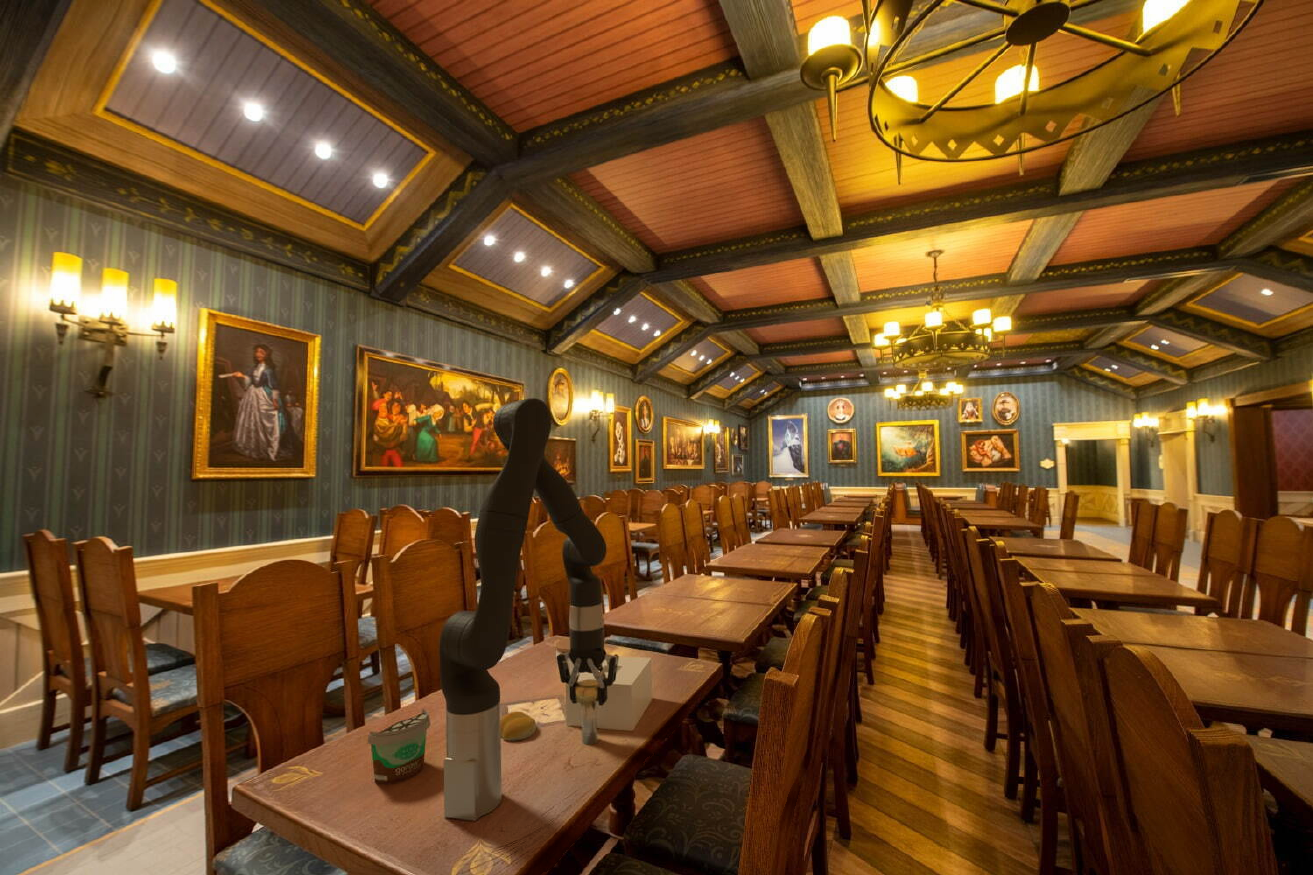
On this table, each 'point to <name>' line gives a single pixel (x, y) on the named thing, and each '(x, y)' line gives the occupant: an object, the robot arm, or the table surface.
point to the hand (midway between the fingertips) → (588, 702)
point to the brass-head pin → (588, 708)
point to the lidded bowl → (564, 650)
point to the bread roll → (517, 726)
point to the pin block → (619, 695)
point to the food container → (399, 749)
